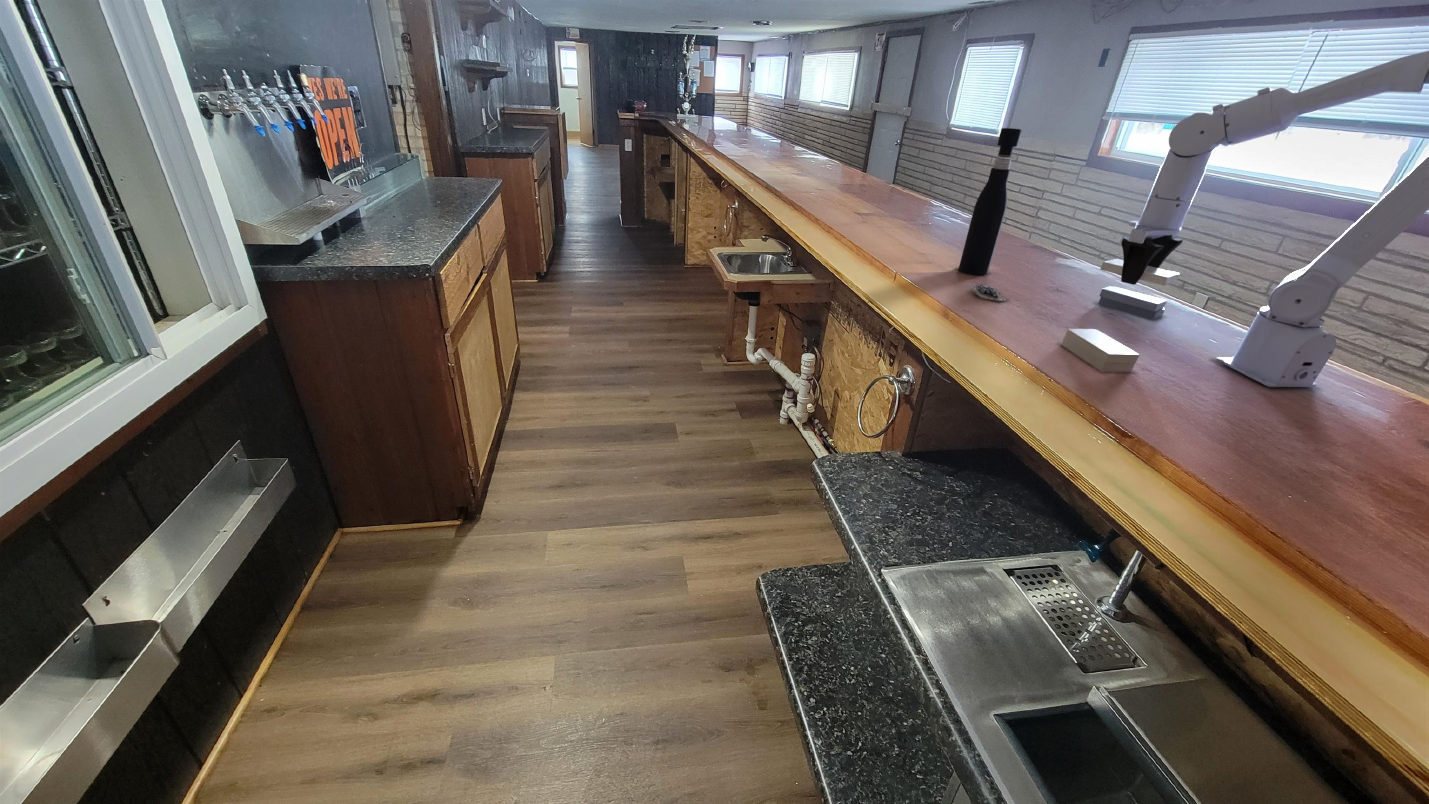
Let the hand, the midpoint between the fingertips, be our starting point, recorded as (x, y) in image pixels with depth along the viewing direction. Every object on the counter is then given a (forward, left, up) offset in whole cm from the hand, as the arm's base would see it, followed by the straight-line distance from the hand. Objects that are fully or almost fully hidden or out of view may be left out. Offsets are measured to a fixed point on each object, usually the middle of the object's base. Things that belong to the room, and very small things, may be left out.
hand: (1135, 280), depth 97 cm
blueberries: (+19, +14, -10) cm, 25 cm away
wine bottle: (+36, +9, -10) cm, 38 cm away
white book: (0, 0, +1) cm, 1 cm away
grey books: (+11, -11, -9) cm, 18 cm away
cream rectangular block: (-11, +12, -9) cm, 19 cm away
